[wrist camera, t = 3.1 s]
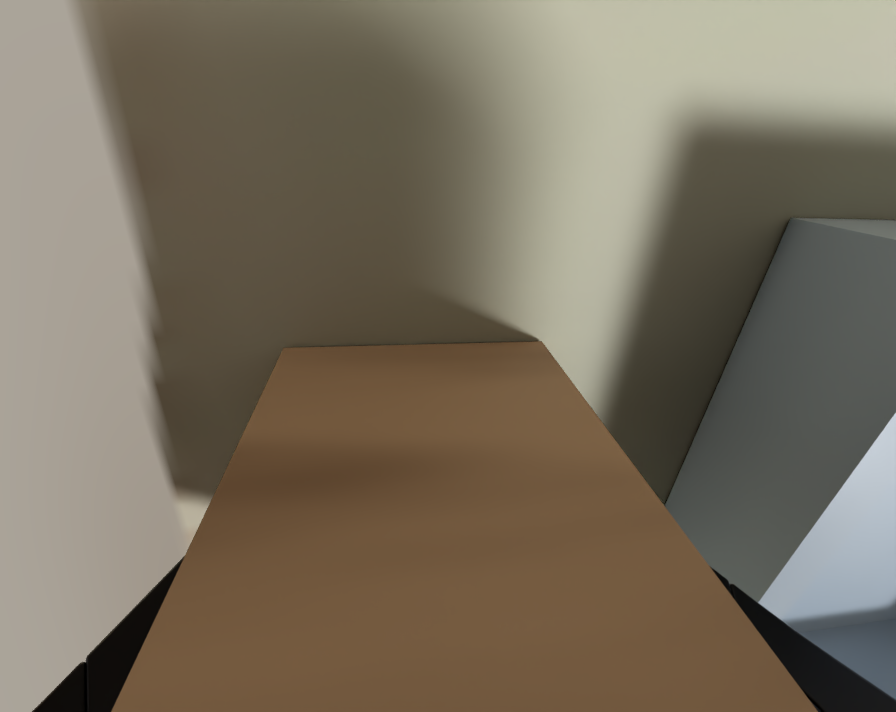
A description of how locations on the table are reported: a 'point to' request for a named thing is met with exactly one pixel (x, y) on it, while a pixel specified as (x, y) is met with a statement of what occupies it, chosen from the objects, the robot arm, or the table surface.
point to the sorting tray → (809, 446)
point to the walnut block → (443, 556)
